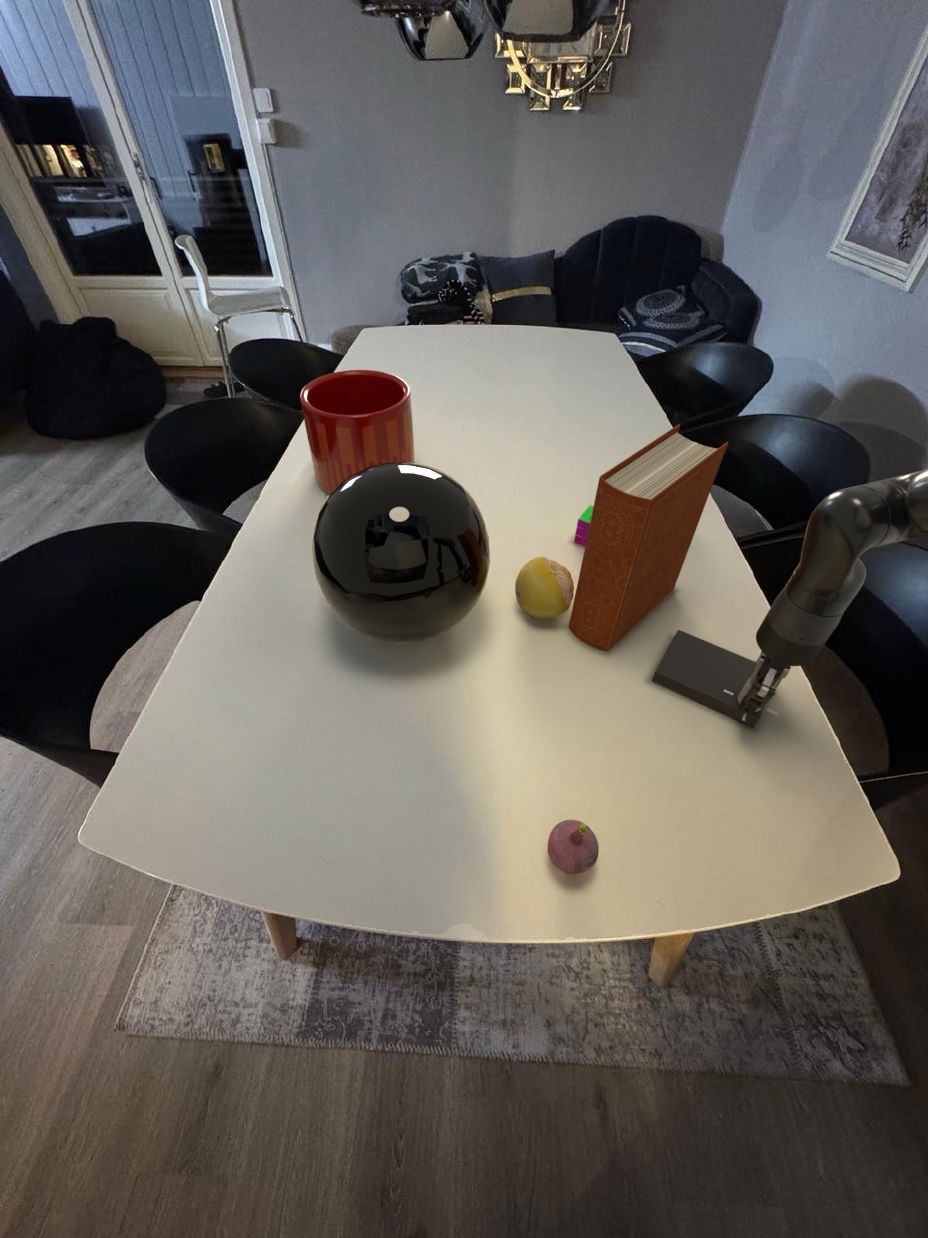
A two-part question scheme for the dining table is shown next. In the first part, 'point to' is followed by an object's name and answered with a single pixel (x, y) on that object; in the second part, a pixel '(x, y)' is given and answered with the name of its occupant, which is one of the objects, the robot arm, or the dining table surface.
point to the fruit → (544, 588)
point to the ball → (400, 552)
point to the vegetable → (573, 847)
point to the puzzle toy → (583, 526)
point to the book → (640, 535)
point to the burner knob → (745, 693)
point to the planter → (356, 423)
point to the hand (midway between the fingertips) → (749, 700)
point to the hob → (707, 675)
